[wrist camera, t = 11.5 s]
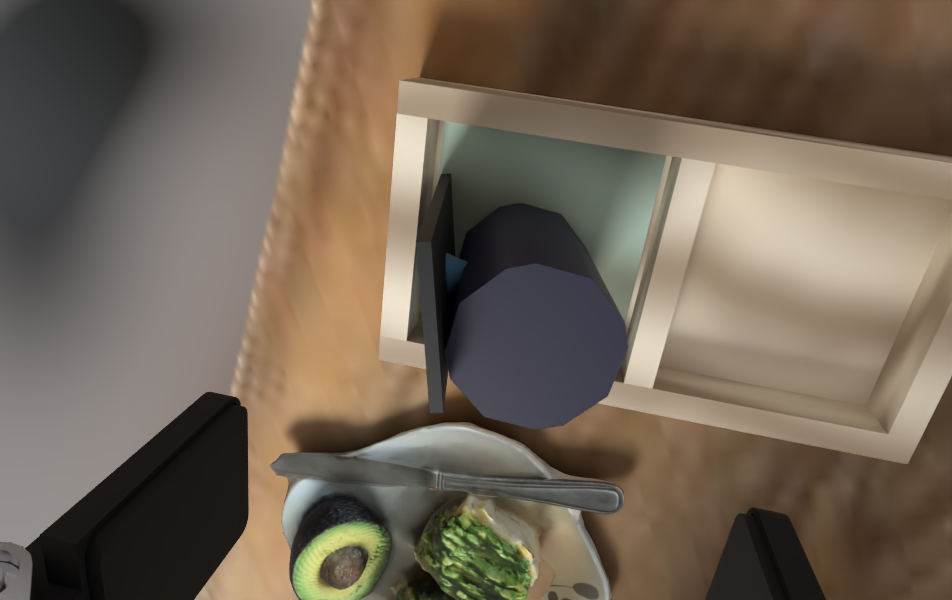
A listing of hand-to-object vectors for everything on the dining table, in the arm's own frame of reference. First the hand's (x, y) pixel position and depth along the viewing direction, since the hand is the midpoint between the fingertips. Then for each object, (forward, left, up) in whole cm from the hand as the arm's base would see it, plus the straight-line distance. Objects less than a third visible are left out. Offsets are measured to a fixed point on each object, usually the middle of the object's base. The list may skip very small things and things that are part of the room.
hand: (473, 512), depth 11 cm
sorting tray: (0, -5, -17) cm, 18 cm away
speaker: (0, +1, -17) cm, 17 cm away
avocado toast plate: (-19, +3, -18) cm, 26 cm away
